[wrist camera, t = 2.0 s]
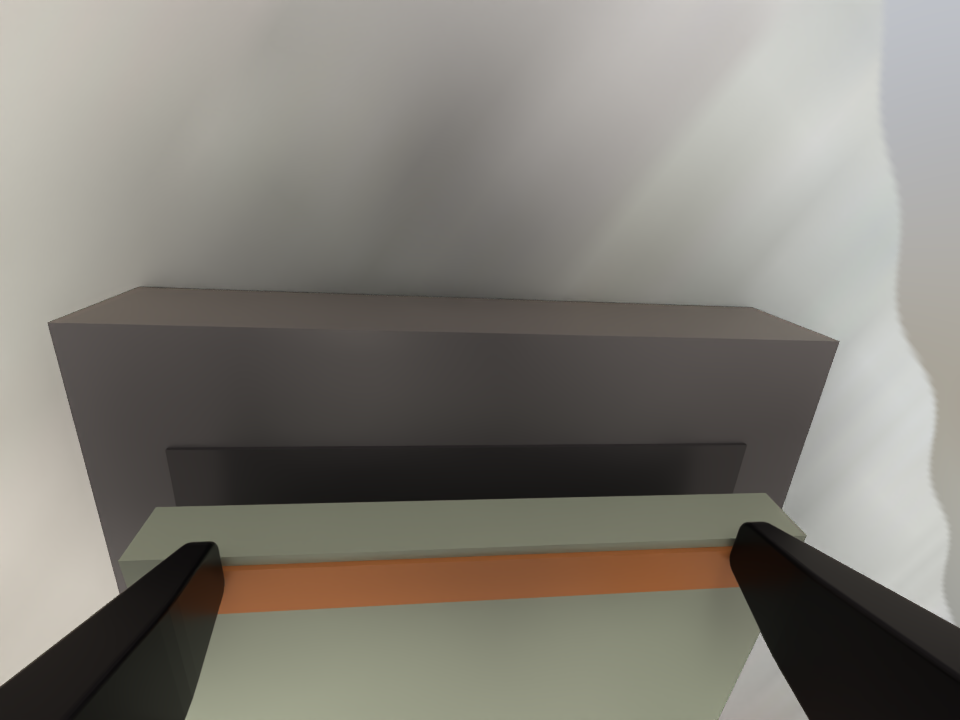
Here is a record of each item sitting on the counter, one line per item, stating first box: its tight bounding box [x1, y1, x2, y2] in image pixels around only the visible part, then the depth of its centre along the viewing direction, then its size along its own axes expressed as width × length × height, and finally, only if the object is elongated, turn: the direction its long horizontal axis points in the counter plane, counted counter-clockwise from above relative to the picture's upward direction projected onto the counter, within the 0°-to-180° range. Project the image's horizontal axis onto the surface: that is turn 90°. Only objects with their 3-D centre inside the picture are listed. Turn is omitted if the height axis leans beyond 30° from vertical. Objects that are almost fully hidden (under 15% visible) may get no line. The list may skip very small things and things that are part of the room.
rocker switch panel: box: [48, 287, 839, 594], centre depth 14 cm, size 20×16×3 cm
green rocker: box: [118, 493, 807, 720], centre depth 10 cm, size 6×12×2 cm, turn 86°
